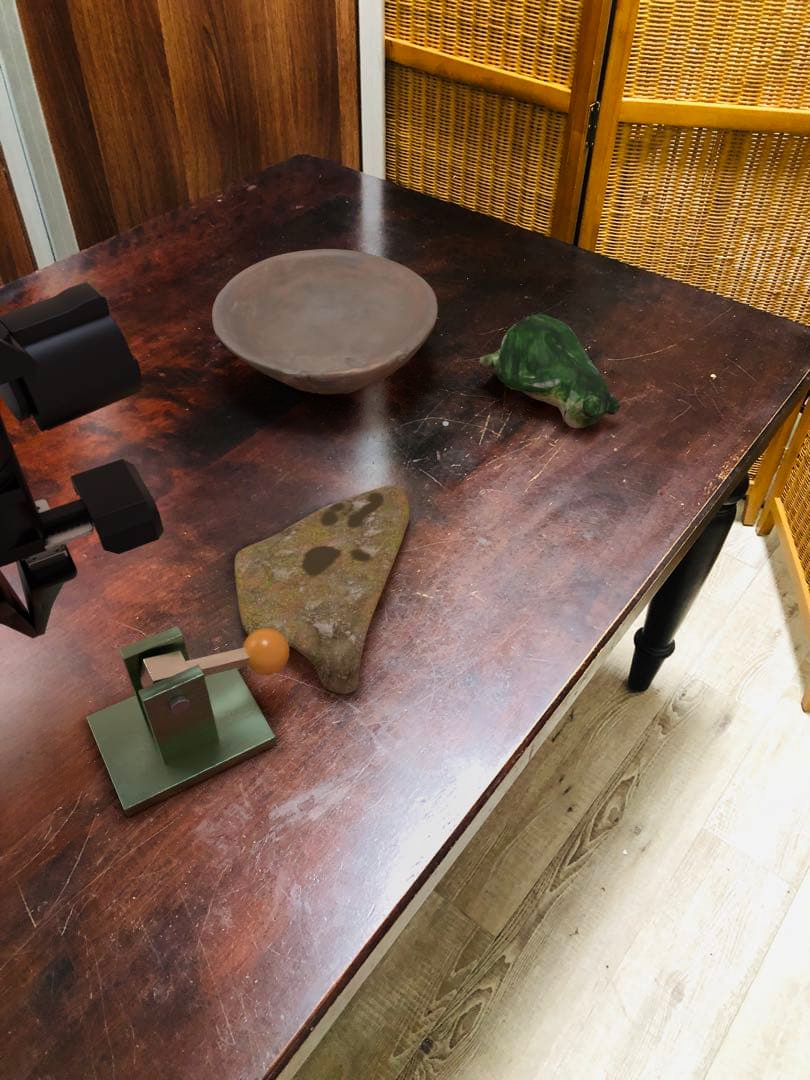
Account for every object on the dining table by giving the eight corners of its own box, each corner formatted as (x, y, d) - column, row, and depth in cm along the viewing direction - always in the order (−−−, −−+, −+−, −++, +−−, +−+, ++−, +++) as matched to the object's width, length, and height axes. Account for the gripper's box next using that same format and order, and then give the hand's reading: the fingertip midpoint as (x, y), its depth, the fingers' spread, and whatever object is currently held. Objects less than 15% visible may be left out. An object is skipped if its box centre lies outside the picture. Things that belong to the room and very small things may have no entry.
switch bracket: (230, 662, 74) (215, 586, 67) (276, 744, 69) (266, 672, 62) (89, 724, 69) (57, 650, 62) (127, 817, 64) (96, 749, 57)
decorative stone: (360, 702, 71) (352, 659, 68) (189, 678, 75) (175, 636, 72) (431, 518, 90) (427, 478, 86) (291, 506, 93) (283, 467, 90)
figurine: (459, 369, 98) (548, 447, 91) (492, 297, 94) (588, 374, 86) (536, 369, 107) (623, 440, 100) (570, 304, 103) (663, 374, 95)
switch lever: (272, 646, 71) (280, 614, 69) (292, 678, 69) (301, 647, 67) (135, 679, 65) (140, 645, 62) (152, 716, 62) (157, 682, 60)
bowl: (398, 296, 114) (399, 234, 107) (465, 413, 98) (471, 348, 91) (204, 324, 108) (194, 261, 102) (242, 454, 92) (233, 388, 86)
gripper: (82, 337, 56) (131, 510, 68) (-248, 428, 49) (-132, 604, 61) (142, 436, 50) (185, 609, 61) (-229, 556, 43) (-103, 726, 54)
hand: (36, 631), depth 59 cm, fingers closed
